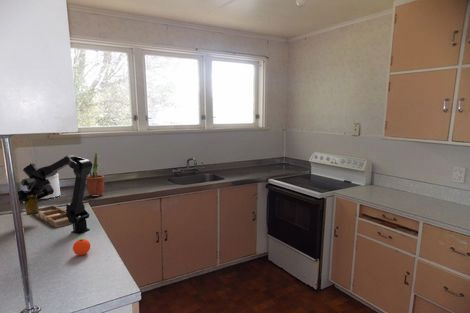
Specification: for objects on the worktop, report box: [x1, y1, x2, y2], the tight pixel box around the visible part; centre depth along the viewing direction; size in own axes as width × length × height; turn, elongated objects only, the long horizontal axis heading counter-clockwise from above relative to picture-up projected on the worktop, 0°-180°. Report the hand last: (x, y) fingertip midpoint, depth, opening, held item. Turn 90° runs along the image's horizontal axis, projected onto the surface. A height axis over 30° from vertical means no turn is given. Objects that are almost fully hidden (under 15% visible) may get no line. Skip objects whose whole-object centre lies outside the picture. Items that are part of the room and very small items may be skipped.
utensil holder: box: [43, 172, 61, 198], centre depth 223 cm, size 15×15×18 cm
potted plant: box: [86, 150, 105, 196], centre depth 222 cm, size 17×16×35 cm
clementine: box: [72, 237, 91, 256], centre depth 129 cm, size 8×7×7 cm
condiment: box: [23, 195, 45, 216], centre depth 166 cm, size 7×8×12 cm
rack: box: [35, 204, 79, 229], centre depth 178 cm, size 37×12×3 cm, turn 50°
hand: (30, 201), depth 167 cm, fingers closed on condiment, 6 cm apart
